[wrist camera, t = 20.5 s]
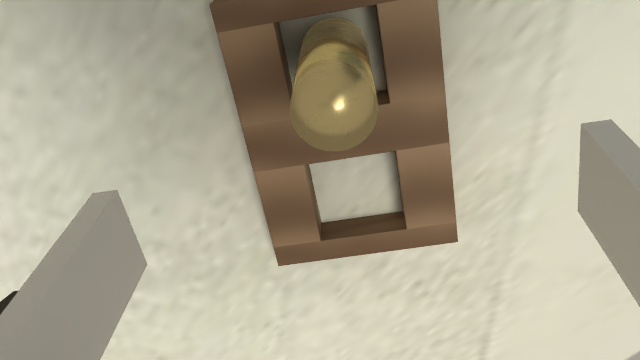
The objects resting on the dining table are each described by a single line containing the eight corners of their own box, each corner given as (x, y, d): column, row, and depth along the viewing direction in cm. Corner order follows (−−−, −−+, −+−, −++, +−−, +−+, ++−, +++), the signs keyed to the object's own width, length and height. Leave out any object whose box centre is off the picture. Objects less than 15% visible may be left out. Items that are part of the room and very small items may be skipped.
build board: (217, -4, 30) (209, 4, 28) (428, -43, 29) (433, -37, 27) (281, 247, 38) (278, 266, 36) (451, 224, 36) (457, 241, 35)
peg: (295, 24, 31) (281, 76, 23) (362, 12, 30) (372, 61, 22) (307, 88, 32) (298, 157, 24) (371, 77, 32) (383, 144, 24)
